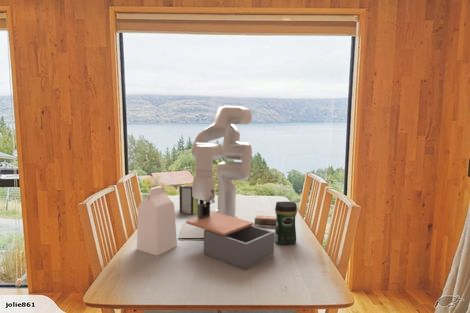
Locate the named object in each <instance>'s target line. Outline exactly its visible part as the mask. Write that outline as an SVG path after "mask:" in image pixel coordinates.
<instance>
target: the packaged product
mask: <svg viewBox="0 0 470 313" xmlns="http://www.w3.org/2000/svg"><path fill="white" fill-rule="evenodd" d="M253 226H255V227H259V228H262V229H273V230H275V229H276V216H272V215H271V216H270V215H259V214H258V215H257V214H256V215H255V217H254V221H253Z"/></svg>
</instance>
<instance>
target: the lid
mask: <svg viewBox="0 0 470 313" xmlns="http://www.w3.org/2000/svg"><path fill="white" fill-rule="evenodd" d="M203 207H204V203H202V204H199V205H198V213H197V217H194V218H191V219H187V220H186V221H185V223H186V224H188V225H189V226H190V225H191V226H194V227H196V228H199V229H201V230H208V231H211V232H214V233H217V234H220V235H223V236H225V235H228V234H231V233H233V232H236V231H238V230H241V229H244V228H246V227H249V226H254V221H253V222H252V221H248V220H245V219H241V218H239V217H238V218H235V217H231V216H228V215H224V214H220V213H217V212H215V213H213V212H212V213H211V205H210V206H209V214H208V215H206V216H203Z"/></svg>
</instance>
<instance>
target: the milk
mask: <svg viewBox="0 0 470 313" xmlns="http://www.w3.org/2000/svg"><path fill="white" fill-rule="evenodd" d="M175 209H176V208H175V204H174V202H173V201H172V199H171V198H170V197H169V196H168V195H167V194H166V193H165V191H164V187H163V185H162V186H160V185H159V186H156V187H151V188H149V190H148V194H147V196H146V197H144V199H143V200H142V201H141V202H140V203H139V204H138V207H137V228H136V229H137V232H136V233H137V234H136V250H138V251H141V252H144V253H148V254H150V255H154V256H160V255H161V254H163V253H165V252H168V251H169V250H172V249H174V248H176V247H178V244H177V241H178V240H177V228H176V211H175Z"/></svg>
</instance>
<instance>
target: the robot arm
mask: <svg viewBox="0 0 470 313" xmlns="http://www.w3.org/2000/svg"><path fill="white" fill-rule="evenodd" d="M252 116H253V114H252V111H251V109H250V108H249V107H244V106H239V105H224V106H220V107H219V108H218V109H217V111H216V113H215V116H214V118H213V120H212V123H211V124H210V126H208V127H206V128H205V129H203V130H202V131H201V132H199V133H198V134H197V135H196V137H195V139H194V142H193V144H192V146H191V155H192V157H193V158H195V163H194V164H195V167H194V168H195V169H194V172H195V174H194V176H193V179H192V182H193V187H192V196H193V198H194V199H195V200H196V201H197V202H198V205H199V204H202V203H204V207H203V216H206V215H208V214H209V206H210V207H211V205H212V204H214V203H215V196H216V186H215V178H214V169H213V168H214V161H219V160H221V159H222V158H223V159H225V160H227V161H225V160H224V161H221V162H219V163H218V164H217V165H216V169H215V170H216V177H217V209H214V211H213V212H212V213H215V212H217V213H220V214H224V215H228V216H231V217H235V218H238V219H239V217H238V216H236V211H237V209H236V206H237V205H236V204H237V203H236V202H237V199H236V198H237V187H236V185H235V182H234V181H241V182H242V181H243V182H246V181H248V179H249V178H250V174H251V164H252V156H253V149H252V145H251V144H250V143H249V142H244V141H240V139H241V138H240V136H241V133H240V131H239V129H238V127H237V126H236V125H245V126H246V125H249V124H251V122H252ZM222 138H223V140H222V144H220V143H218V142H216V143H215V142H211V141H215V140H217V139H222ZM228 160H229V161H228ZM230 160H231V161H230Z"/></svg>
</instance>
